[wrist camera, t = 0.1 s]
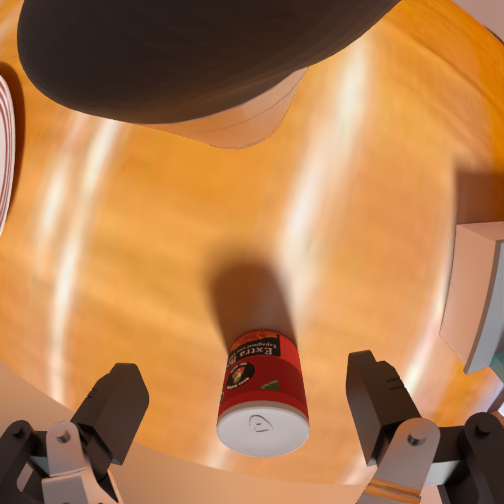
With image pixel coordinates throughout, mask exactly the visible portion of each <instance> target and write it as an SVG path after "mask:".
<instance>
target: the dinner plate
mask: <svg viewBox="0 0 504 504" xmlns="http://www.w3.org/2000/svg"><path fill="white" fill-rule="evenodd" d="M14 162H15V120H14V108H13V102H12V97H11V93H10V90H9V87H8V85H7V83H6V81H5V80H4V78H3V77H2V76H1V75H0V236H1V233H2V230H3V227H4V223H5V220H6V216H7V211H8V207H9V201H10V195H11V189H12V182H13V173H14Z"/></svg>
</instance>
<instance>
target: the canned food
mask: <svg viewBox="0 0 504 504" xmlns="http://www.w3.org/2000/svg"><path fill="white" fill-rule="evenodd" d="M309 427H310V425H309V416H308V409H307V403H306V396H305V390H304V383H303V377H302V371H301V365H300V359H299V353H298V351H297V349H296V347H295V346H294V344H293V343H292V342H291V340H290V339H288V338H287V337H286V336H285V335H283V334H281V333H279V332H276V331H273V330H267V329H260V330H254V331H251V332H248V333H246V334H244V335H242V336H241V337H240V338H239V339H237V341H236V342H235V343H234V345H233V346H232V347H231V349H230V352H229V356H228V361H227V367H226V372H225V378H224V384H223V389H222V395H221V400H220V406H219V412H218V419H217V435H218V437H219V439H220V441H221V442H222V443H223V444H224V445H225V446H227V447H228V448H229V449H231V450H233V451H235V452H238V453H241V454H243V455H248V456H253V457H274V456H280V455H284V454H287V453H290V452H292V451H294V450H296V449H298V448H299V447H301V446H302V445H303V444H304V443H305V442H306V440H307V438H308V437H309V432H310V431H309Z"/></svg>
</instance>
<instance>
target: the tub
mask: <svg viewBox="0 0 504 504" xmlns="http://www.w3.org/2000/svg"><path fill="white" fill-rule="evenodd" d="M502 239H504V221H499V222H485V223H471V224H457V225H456V238H455V249H454V258H453V266H452V273H451V280H450V286H449V292H448V298H447V303H446V308H445V313H444V317H443V322H442V326H441V330H440V334H439V335H440V337H441V338H442V339H443V340H444V341H445V343H446V344H447V345H448V346H449V348H450V349H451V350H452V351H453V352H454V354H455V355H456V356H457V357H458V359H459V360H460V361H461V362H462V364H463V365H464V366H465V365H466V362H467V360H468V357H469V354H470V351H471V348H472V345H473V342H474V339H475V336H476V333H477V330H478V326H479V323H480V319H481V316H482V312H483V308H484V304H485V300H486V295H487V291H488V286H489V281H490V276H491V271H492V265H493V258H494V251H495V244H496V240H502Z"/></svg>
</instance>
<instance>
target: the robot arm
mask: <svg viewBox="0 0 504 504" xmlns="http://www.w3.org/2000/svg"><path fill="white" fill-rule="evenodd" d="M400 1H401V0H24V3H23V6H22V9H21V13H20V17H19V22H18V29H17V47H18V54H19V59H20V62H21V64H22V67H23V69H24V71H25V73H26V75H27V76H28V78H29V79H30V81H31V82H32V83H33V84H34V86H35V87H36V88H37V89H38V90H39V91H40V92H42V93H43V94H44V95H45V96H47V97H48V98H50V99H51V100H53V101H55V102H56V103H58V104H61V105H63V106H65V107H67V108H69V109H72V110H76V111H79V112H82V113H86V114H90V115H94V116H99V117H104V118H108V119H113V120H118V121H123V122H128V123H132V124H136V125H141V126H145V127H149V128H153V129H157V130H161V131H165V132H169V133H173V134H176V135H180V136H183V137H187V138H190V139H194V140H197V141H201V142H204V143H207V144H210V145H211V146H215V147H219V148H227V149H237V148H244V147H249V146H252V145H254V144H257V143H259V142H261V141H263V140H264V139H266V138H267V137H268V136H270V135H271V134H272V133H273V132H274V131H275V130H276V129H277V128H278V126H279V125H280V123H281V121H282V120H283V118H284V116H285V114H286V112H287V110H288V108H289V106H290V104H291V102H292V100H293V98H294V95H295V93H296V91H297V89H298V87H299V85H300V83H301V81H302V79H303V77H304V75H305V73H306V70H307V68H308V66H311V65H313V64H316V63H318V62H320V61H322V60H324V59H326V58H328V57H330V56H332V55H334V54H336V53H337V52H339V51H341V50H342V49H344V48H345V47H347V46H348V45H350V44H351V43H352V42H354V41H355V40H357V39H358V38H359V37H361V36H362V35H363V34H364V33H365V32H366V31H367V30H369V29H370V28H371V27H372V26H373V25H375V24H376V23H377V22H378V21H379V20H380V19H381V18H382V17H383V16H384V15H385V14H386V13H388V12H389V11H390V10H391V9H392V8H393V7H394V6H395V5H396V4H397V3H399V2H400ZM346 395H347V400H348V403H349V406H350V409H351V413H352V416H353V419H354V423H355V426H356V429H357V433H358V436H359V440H360V443H361V446H362V450H363V454H364V457H365V461H366V464H367V467H368V466H372V465H376V464H377V467H378V469H377V471H376V473H375V474H374V476H373V478H372V480H371V481H370V483H369V484H368V485H367V486H366V488H365V490H364V491H363V493H362V494H361V496H360V498H359V499H358V501H357V503H356V504H419V503H420V501H421V496H420V493H421V490H422V488H423V486H432V485H437V487H438V490H439V493H440V497H441V500H442V504H504V427H503V426H502V424H501V422H500V421H499V419H498V418H497V417H496V416H494V415H493V414H490V413H486V412H480V413H476V414H474V415H472V416H471V417H469V419H468V420H467V421H466V423H465V425H463V426H454V427H438V426H437V425H436V424H435V423H434V422H432V421H431V420H428V419H425V418H422V417H421V415H420V414H419V412H418V410H417V408H416V406H415V404H414V402H413V400H412V399H411V397H410V395H409V393H408V391H407V389H406V388H405V387H404V384H403V382H402V380H401V379H400V377H399V375H398V373H397V372H396V370H395V368H394V367H393V366H391V365H390V364H388V363H387V362H386V361H379V362H376V360H375V358H374V356H373V354H372V352H371V351H370V350H365V351H359V352H353V353H349V356H348V366H347V377H346ZM148 405H149V394H148V391H147V388H146V386H145V384H144V381H143V379H142V376H141V374H140V371H139V369H138V367H137V365H136V364H132V363H116V364H115V365H114V367H113V368H112V370H111V371H110V373H109V374H106V375H105V376H103V377H102V378H101V379H99V380H98V381H97V382H96V384H95V385H94V387H93V388H92V391H90V392H89V394H88V395H87V398H85V400H84V401H83V403H82V404H81V406H80V407H79V409H78V410H77V412H76V413H75V414H74V416H73V417H72V419H71V420H70V422H68V421H62V422H58V423H56V424H54V425H53V426H52V427H51V428H50V429H49V430H48V431H34V429H33V428H32V427H31V425H30V424H29V423H28V422H27V421H24V420H19V421H16V422H13V423H12V424H11V425H10V426H9V427H8V428H7V429H6V431H5V432H4V434H3V435H2V436H1V438H0V504H124V503H123V501H122V499H121V496H120V494H119V491H118V489H117V486H116V484H115V481H114V478H113V476H112V473H111V471H110V469H109V466H110V463H113V464H117V465H122V464H123V462H124V460H125V457H126V455H127V453H128V450H129V448H130V446H131V443H132V441H133V439H134V437H135V434H136V432H137V430H138V428H139V425H140V423H141V421H142V419H143V416H144V414H145V412H146V410H147V407H148ZM26 463H27V464H28V465H29V466H30V467H31V468H32V469H33V472H32V474H31V476H30V478H29V480H28V482H27V484H26V485H25V487H24V489H23V491H22V492H20V491H19V489H18V488H17V483H16V482H17V479H18V477H19V475H20V473H21V471H22V469H23V468H24V466H25V464H26Z"/></svg>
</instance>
